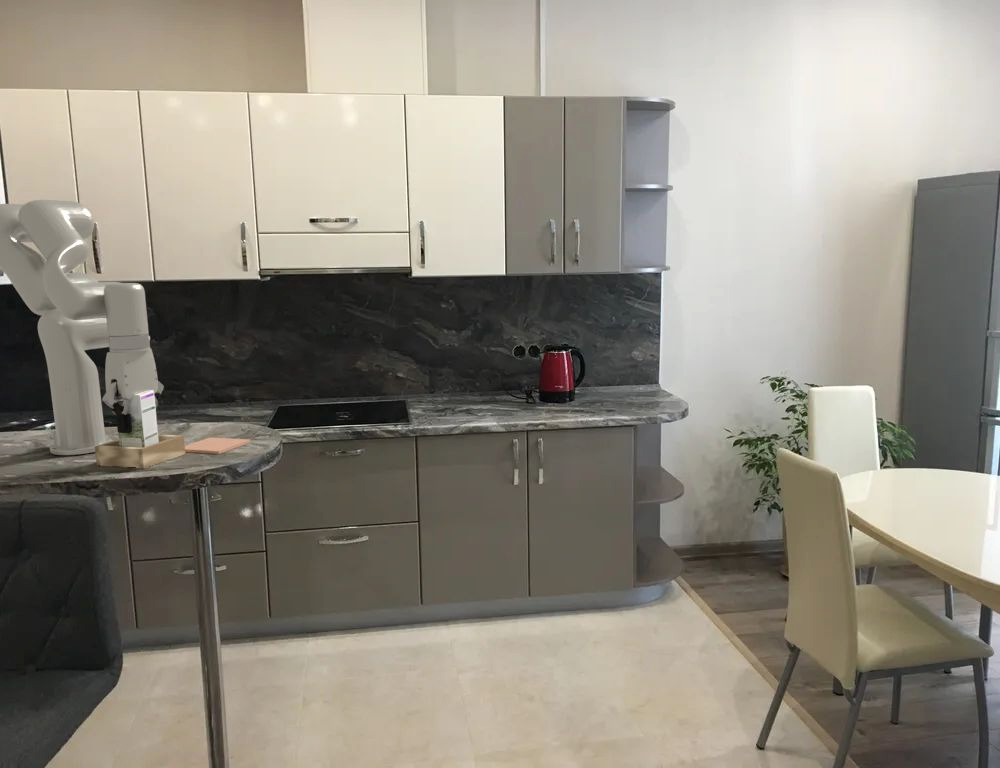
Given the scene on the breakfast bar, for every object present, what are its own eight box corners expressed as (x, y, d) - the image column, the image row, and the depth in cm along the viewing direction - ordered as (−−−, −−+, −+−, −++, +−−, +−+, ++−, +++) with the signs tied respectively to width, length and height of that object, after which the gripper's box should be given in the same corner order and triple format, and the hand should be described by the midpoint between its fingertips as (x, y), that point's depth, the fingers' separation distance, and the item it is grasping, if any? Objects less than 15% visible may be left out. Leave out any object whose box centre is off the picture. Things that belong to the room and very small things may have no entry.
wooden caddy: (96, 465, 157) (94, 446, 156) (140, 451, 168) (138, 433, 168) (144, 468, 153) (142, 449, 153) (185, 453, 165) (183, 435, 164)
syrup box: (161, 455, 164) (155, 388, 161) (146, 462, 158) (139, 393, 156) (136, 455, 164) (129, 388, 162) (120, 462, 158) (112, 393, 156)
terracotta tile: (176, 451, 167) (176, 448, 167) (209, 440, 178) (209, 437, 177) (219, 453, 164) (218, 451, 164) (250, 442, 174) (250, 439, 174)
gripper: (145, 338, 166) (153, 419, 169) (80, 348, 150) (90, 437, 153) (174, 339, 164) (181, 421, 167) (111, 348, 148) (120, 439, 151)
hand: (138, 428), depth 160 cm, fingers closed on syrup box, 6 cm apart
